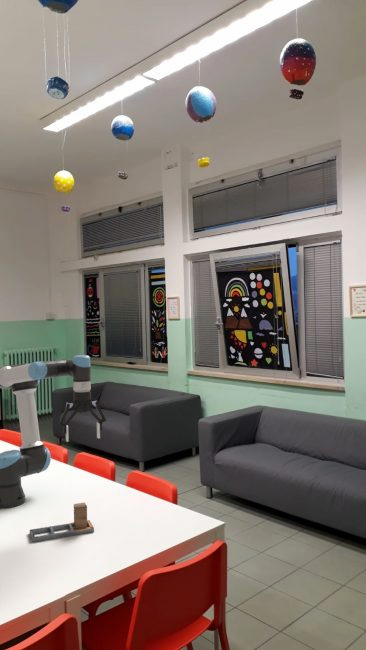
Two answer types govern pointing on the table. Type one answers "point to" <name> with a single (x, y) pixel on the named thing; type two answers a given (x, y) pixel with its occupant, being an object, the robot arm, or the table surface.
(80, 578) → the table surface
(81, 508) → the walnut block
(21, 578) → the table surface
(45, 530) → the rack
